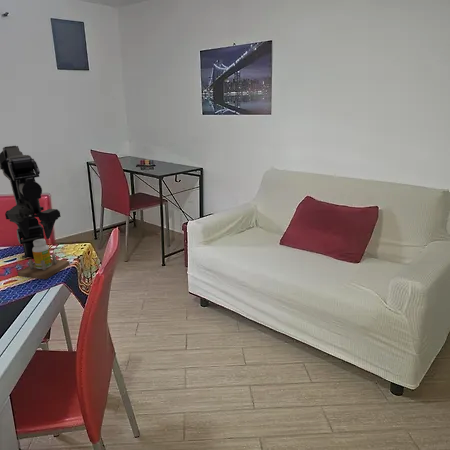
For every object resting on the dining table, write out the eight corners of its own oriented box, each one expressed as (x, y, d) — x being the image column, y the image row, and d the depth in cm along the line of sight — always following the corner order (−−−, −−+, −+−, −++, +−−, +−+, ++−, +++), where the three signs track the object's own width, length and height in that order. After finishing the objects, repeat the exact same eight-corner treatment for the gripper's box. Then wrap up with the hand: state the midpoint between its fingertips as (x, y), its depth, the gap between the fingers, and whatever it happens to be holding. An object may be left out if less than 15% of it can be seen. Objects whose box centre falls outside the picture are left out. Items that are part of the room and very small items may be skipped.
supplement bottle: (45, 269, 140) (40, 243, 137) (32, 268, 141) (27, 242, 138) (55, 263, 145) (50, 238, 142) (42, 262, 146) (37, 237, 143)
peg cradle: (18, 276, 140) (15, 262, 139) (43, 262, 151) (40, 249, 149) (46, 279, 136) (43, 265, 135) (69, 264, 147) (67, 252, 145)
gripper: (-14, 199, 131) (-2, 244, 135) (32, 201, 124) (42, 248, 129) (13, 191, 140) (23, 233, 145) (57, 192, 134) (65, 236, 139)
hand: (37, 237), depth 140 cm, fingers open, 9 cm apart
